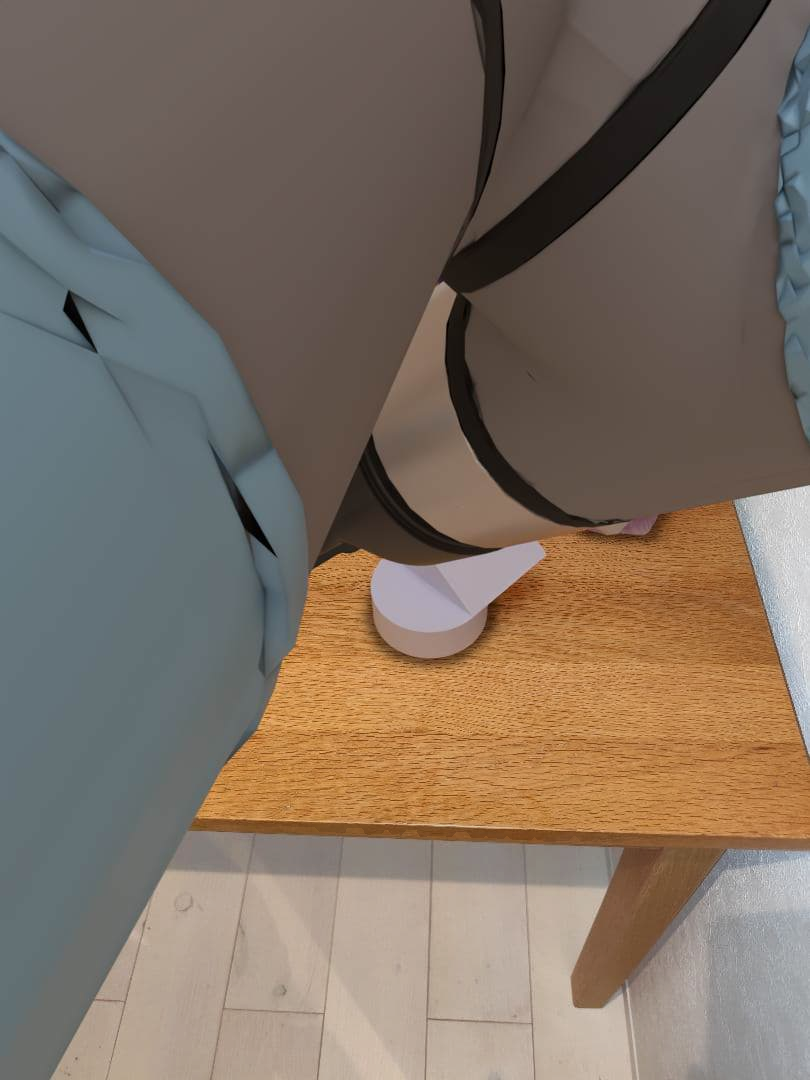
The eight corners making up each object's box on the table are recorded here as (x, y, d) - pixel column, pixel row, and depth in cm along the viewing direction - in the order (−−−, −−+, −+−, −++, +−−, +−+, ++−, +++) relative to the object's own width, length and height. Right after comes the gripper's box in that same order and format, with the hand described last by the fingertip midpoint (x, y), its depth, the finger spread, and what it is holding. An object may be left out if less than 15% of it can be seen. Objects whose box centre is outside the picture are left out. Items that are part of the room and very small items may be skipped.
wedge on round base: (462, 525, 77) (349, 611, 71) (463, 468, 72) (342, 556, 66) (543, 581, 72) (430, 679, 66) (550, 525, 67) (429, 625, 61)
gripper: (227, 837, 21) (63, 766, 39) (738, 333, 33) (431, 458, 51) (17, 581, 19) (-52, 631, 37) (634, 151, 31) (356, 347, 49)
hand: (227, 532), depth 44 cm, fingers open, 13 cm apart
